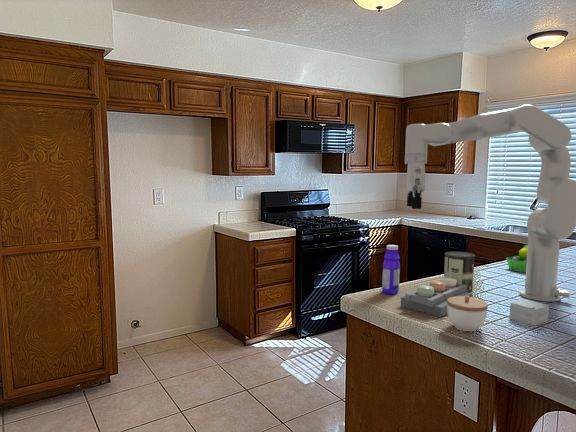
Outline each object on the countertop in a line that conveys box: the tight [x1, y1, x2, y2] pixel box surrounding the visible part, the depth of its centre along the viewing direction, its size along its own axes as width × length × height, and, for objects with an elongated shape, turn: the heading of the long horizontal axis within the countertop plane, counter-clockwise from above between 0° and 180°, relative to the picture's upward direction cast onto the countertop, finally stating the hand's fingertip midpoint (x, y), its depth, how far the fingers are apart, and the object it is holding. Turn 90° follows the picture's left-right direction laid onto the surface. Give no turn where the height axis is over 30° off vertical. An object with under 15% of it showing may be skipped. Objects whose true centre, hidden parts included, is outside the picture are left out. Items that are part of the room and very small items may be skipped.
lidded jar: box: [447, 296, 489, 332], centre depth 121 cm, size 11×11×9 cm
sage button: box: [416, 285, 434, 298], centre depth 136 cm, size 5×5×3 cm
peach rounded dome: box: [429, 280, 446, 293], centre depth 142 cm, size 5×5×3 cm
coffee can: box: [443, 250, 476, 294], centre depth 157 cm, size 10×10×14 cm
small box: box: [509, 298, 550, 326], centre depth 128 cm, size 8×8×5 cm
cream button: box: [440, 276, 457, 288], centre depth 147 cm, size 5×5×3 cm
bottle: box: [381, 244, 401, 295], centre depth 154 cm, size 7×6×17 cm
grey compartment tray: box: [400, 280, 473, 318], centre depth 142 cm, size 14×25×5 cm, turn 134°
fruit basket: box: [505, 244, 528, 273], centre depth 190 cm, size 11×9×11 cm
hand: (413, 207), depth 152 cm, fingers open, 9 cm apart
